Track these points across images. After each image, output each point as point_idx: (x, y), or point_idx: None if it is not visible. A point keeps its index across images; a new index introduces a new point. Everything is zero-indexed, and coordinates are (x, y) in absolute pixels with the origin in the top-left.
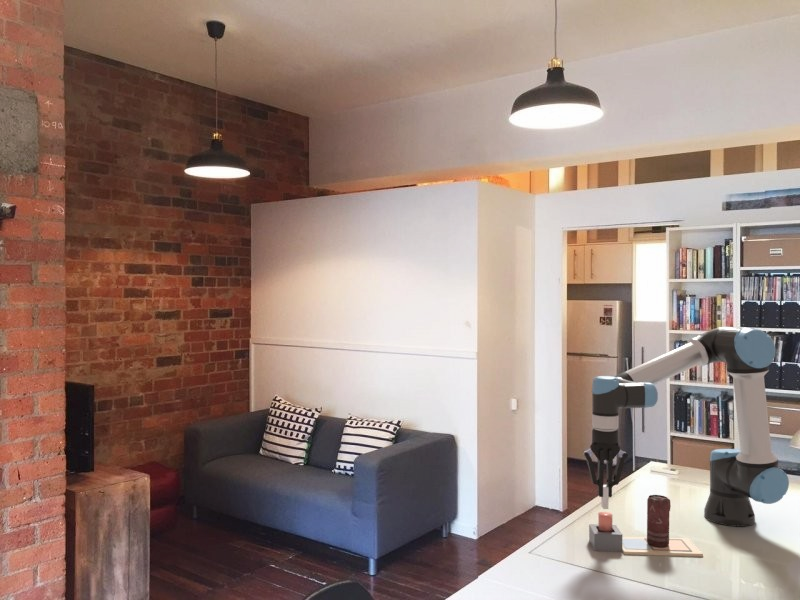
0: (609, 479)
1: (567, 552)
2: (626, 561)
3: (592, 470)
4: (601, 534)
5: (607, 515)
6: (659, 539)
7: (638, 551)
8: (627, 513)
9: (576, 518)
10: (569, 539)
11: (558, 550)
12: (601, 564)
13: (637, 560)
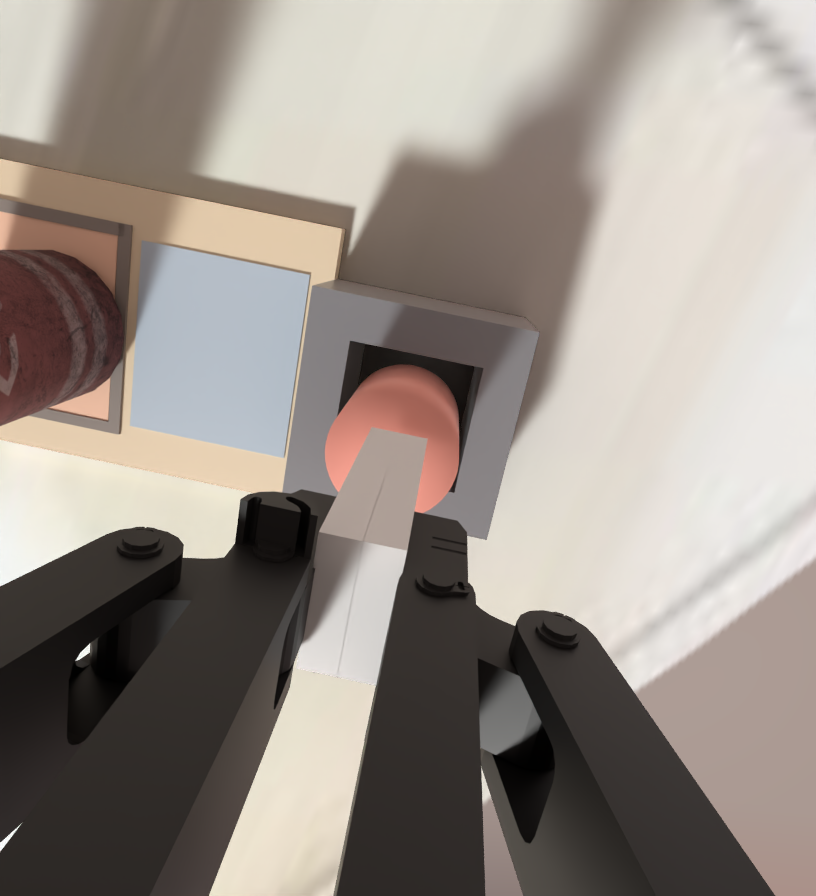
0: (258, 609)
1: (728, 315)
2: (380, 97)
3: (698, 870)
4: (482, 319)
5: (383, 424)
6: (34, 253)
7: (239, 218)
8: None
9: None
10: (603, 530)
11: (774, 358)
12: (588, 60)
13: (295, 107)
